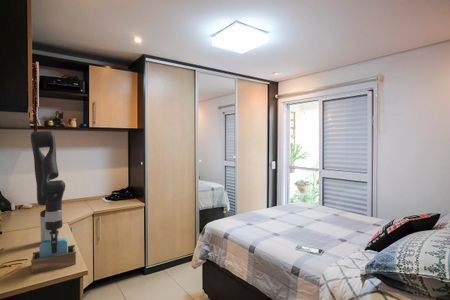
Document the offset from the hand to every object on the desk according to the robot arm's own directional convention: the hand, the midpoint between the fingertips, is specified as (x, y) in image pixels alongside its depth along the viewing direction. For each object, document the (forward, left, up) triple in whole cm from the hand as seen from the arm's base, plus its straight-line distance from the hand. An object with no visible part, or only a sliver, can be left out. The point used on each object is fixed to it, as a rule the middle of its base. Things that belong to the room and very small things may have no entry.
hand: (54, 250), depth 137 cm
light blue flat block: (0, 0, -7) cm, 7 cm away
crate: (0, 0, -7) cm, 7 cm away
